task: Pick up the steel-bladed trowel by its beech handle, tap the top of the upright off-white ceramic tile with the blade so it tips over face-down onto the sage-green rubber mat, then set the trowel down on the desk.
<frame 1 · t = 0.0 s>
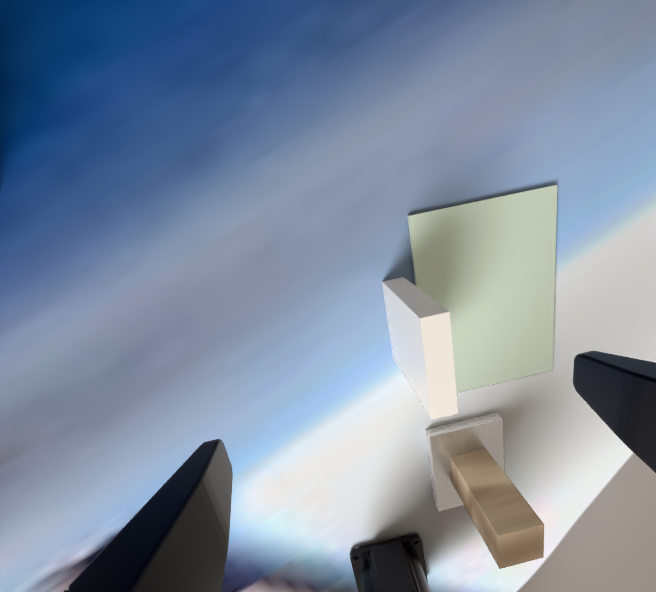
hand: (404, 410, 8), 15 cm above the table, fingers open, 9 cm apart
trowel: (463, 458, 28), on the table
tile: (398, 319, 24), on the table
mat: (485, 299, 24), on the table
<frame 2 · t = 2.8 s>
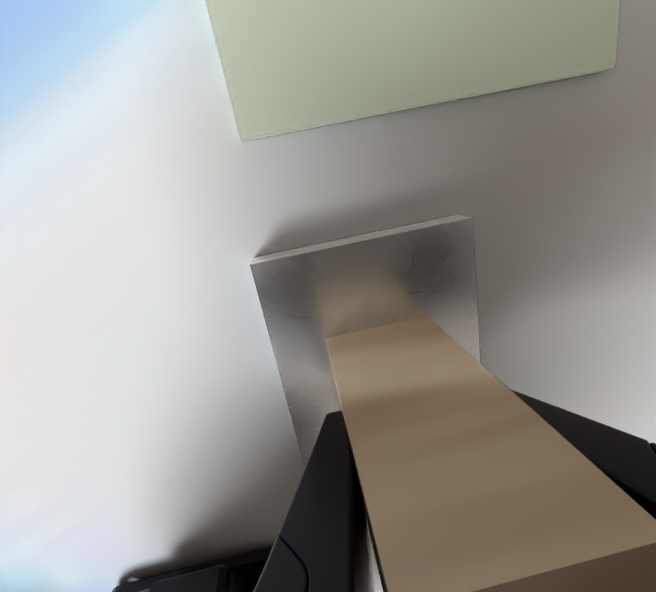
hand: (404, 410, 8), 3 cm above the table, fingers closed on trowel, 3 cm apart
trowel: (375, 356, 11), on the table, touching gripper
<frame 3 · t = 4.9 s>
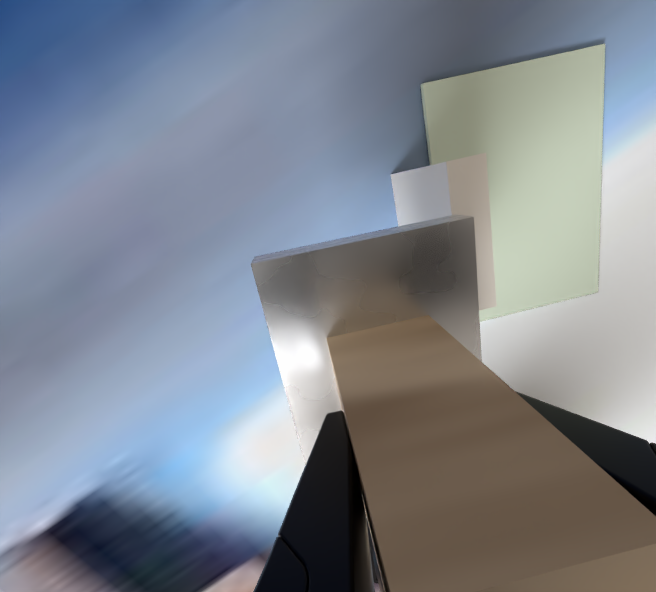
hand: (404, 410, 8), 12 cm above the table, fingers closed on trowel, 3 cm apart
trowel: (376, 356, 11), point 10 cm above the table, touching gripper
tile: (411, 224, 20), on the table
mat: (517, 200, 20), on the table
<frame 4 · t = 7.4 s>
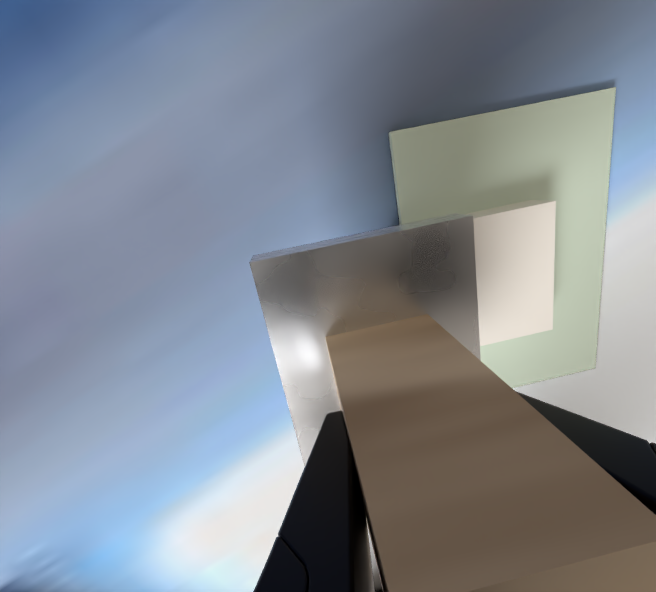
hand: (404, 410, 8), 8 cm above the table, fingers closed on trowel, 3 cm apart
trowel: (375, 355, 11), point 6 cm above the table, touching gripper
tile: (397, 297, 15), point 1 cm above the table, tilted 90°, touching mat
mat: (504, 266, 17), on the table
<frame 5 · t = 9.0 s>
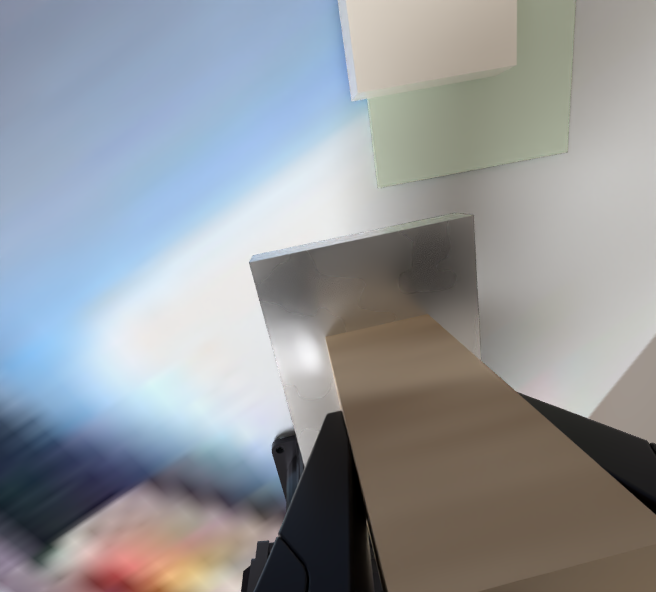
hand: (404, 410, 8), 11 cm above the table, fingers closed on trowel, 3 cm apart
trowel: (375, 355, 11), point 8 cm above the table, touching gripper
tile: (343, 15, 14), point 1 cm above the table, tilted 90°, touching mat
mat: (466, 6, 15), on the table
when the fingers open (5 cm above the table, at t = 10.4 s): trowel drops 2 cm, on the table.
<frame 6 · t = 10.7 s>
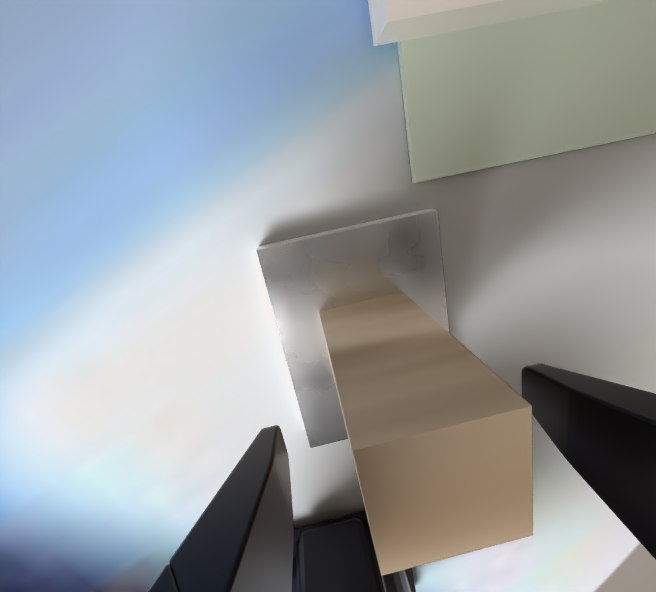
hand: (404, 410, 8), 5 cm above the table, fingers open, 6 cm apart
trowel: (362, 329, 13), on the table
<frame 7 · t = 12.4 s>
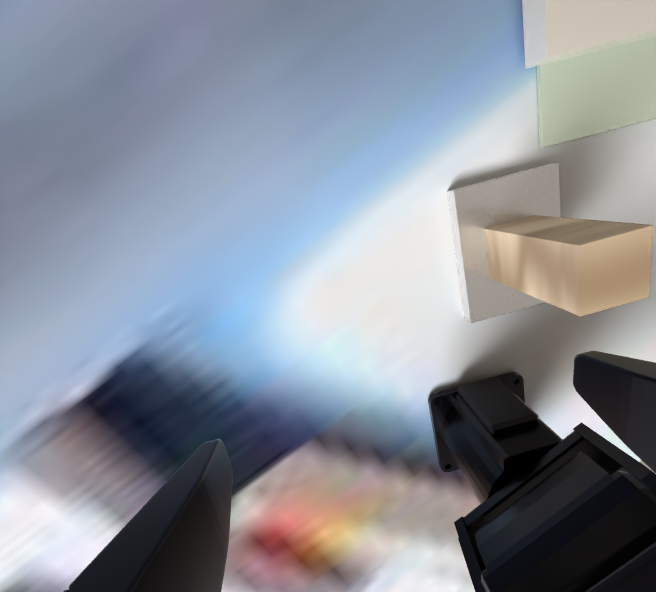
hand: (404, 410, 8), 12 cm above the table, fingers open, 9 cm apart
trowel: (501, 245, 20), on the table
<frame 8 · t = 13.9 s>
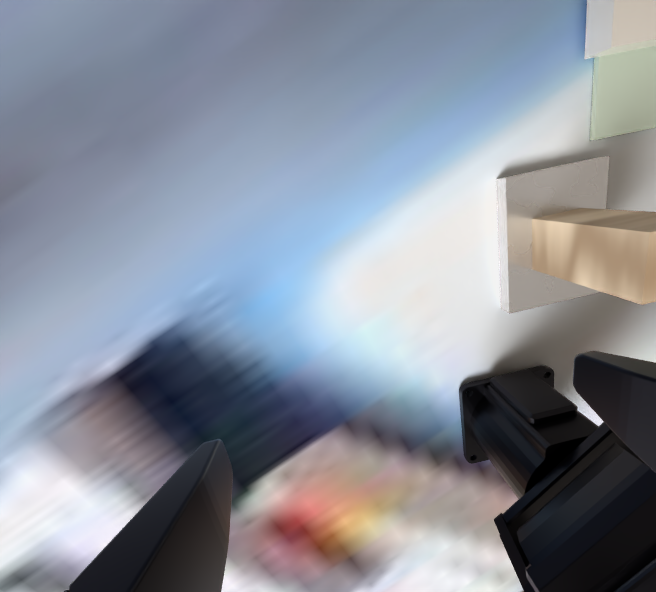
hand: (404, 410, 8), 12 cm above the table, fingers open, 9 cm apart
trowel: (544, 237, 20), on the table
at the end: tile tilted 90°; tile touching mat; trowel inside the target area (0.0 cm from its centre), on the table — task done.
